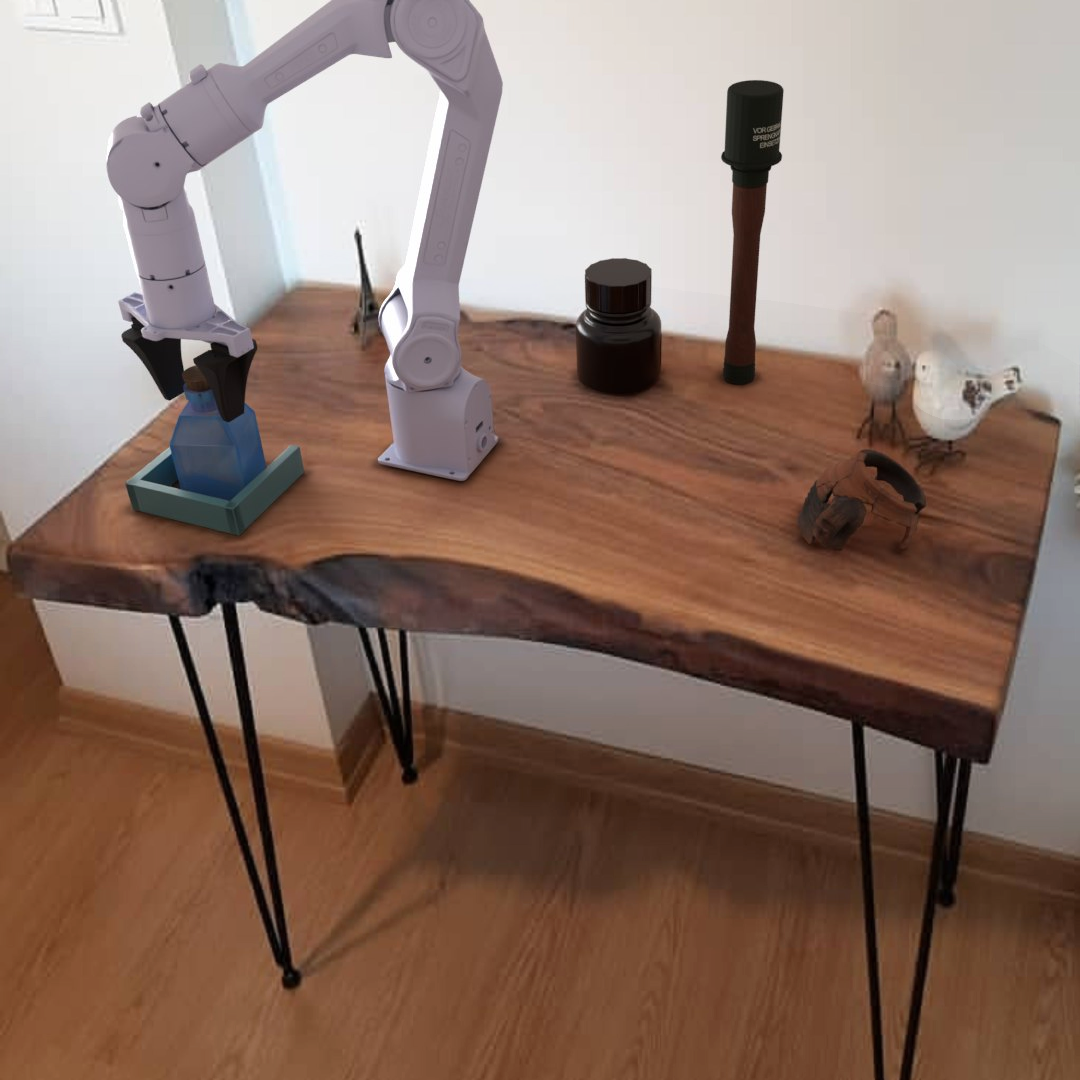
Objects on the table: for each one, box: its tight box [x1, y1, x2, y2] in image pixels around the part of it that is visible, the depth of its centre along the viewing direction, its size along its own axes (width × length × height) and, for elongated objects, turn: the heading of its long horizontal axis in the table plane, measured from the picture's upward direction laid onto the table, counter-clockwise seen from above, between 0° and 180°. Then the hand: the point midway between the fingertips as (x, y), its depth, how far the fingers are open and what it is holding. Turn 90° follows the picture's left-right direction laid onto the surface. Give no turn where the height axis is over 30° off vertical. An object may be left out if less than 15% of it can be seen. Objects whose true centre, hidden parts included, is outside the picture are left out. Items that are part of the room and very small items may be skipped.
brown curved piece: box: [797, 449, 927, 552], centre depth 104 cm, size 12×10×8 cm
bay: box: [124, 444, 305, 536], centre depth 116 cm, size 12×11×3 cm
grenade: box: [720, 79, 785, 385], centre depth 121 cm, size 6×6×30 cm
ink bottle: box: [575, 257, 663, 396], centre depth 127 cm, size 10×9×12 cm
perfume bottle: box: [169, 364, 267, 501], centre depth 114 cm, size 6×6×12 cm
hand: (204, 405), depth 112 cm, fingers open, 7 cm apart
